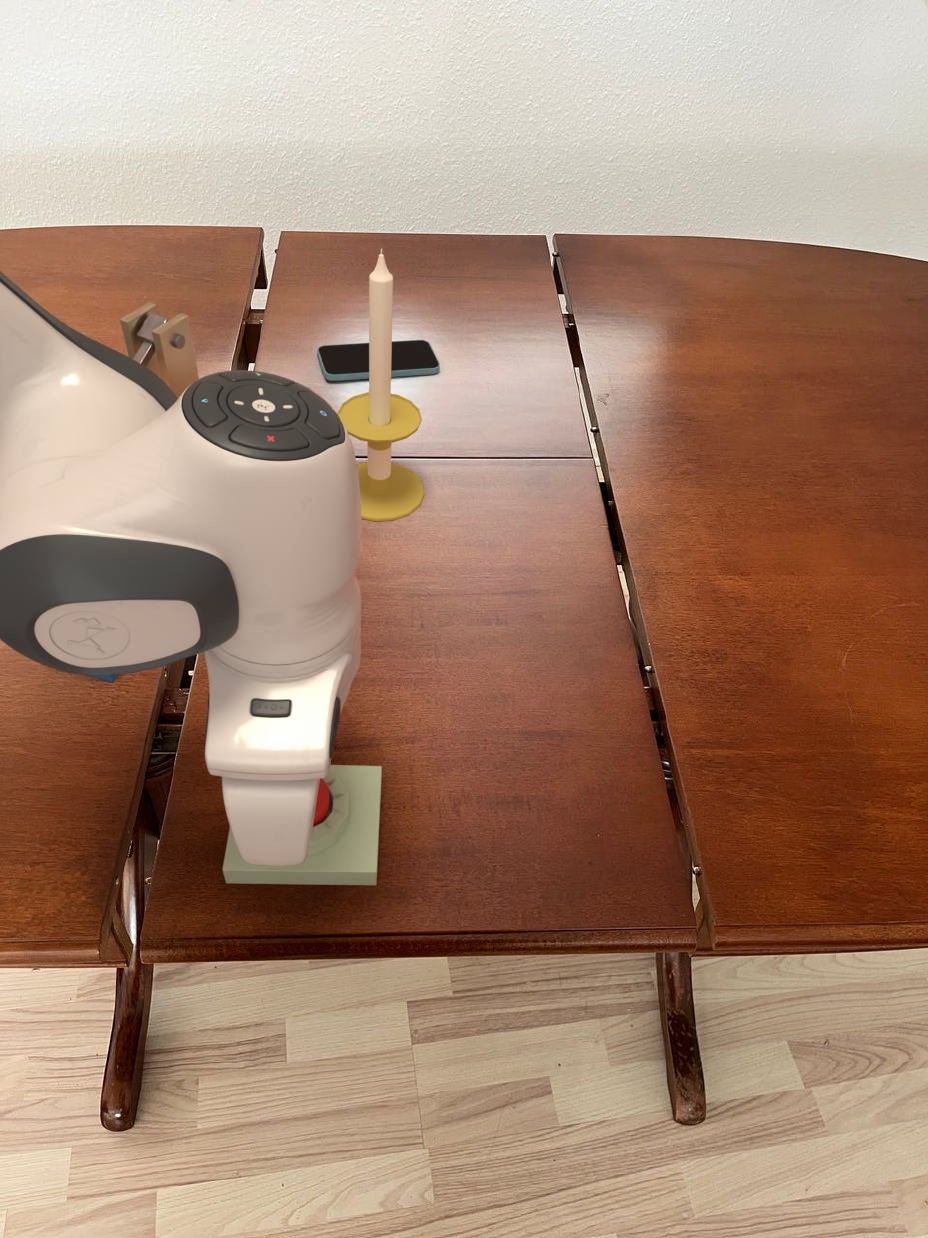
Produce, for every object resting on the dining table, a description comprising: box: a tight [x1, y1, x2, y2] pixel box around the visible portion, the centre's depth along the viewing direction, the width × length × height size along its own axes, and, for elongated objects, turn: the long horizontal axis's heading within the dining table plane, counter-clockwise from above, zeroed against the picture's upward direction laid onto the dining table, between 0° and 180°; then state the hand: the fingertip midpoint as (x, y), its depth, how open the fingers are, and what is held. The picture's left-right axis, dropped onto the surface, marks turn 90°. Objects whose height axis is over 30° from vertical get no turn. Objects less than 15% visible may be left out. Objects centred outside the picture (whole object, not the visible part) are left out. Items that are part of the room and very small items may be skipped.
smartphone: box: [316, 339, 441, 382], centre depth 111 cm, size 7×1×15 cm
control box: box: [222, 764, 383, 886], centre depth 65 cm, size 11×9×4 cm
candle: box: [337, 247, 426, 522], centre depth 84 cm, size 10×10×27 cm
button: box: [313, 778, 330, 825], centre depth 63 cm, size 4×4×2 cm
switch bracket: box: [119, 301, 200, 398], centre depth 92 cm, size 10×8×15 cm
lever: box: [133, 313, 169, 367], centre depth 87 cm, size 14×5×2 cm, turn 152°
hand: (296, 767), depth 60 cm, fingers closed
